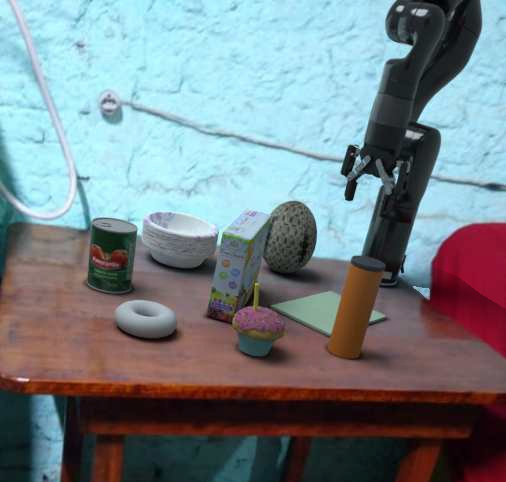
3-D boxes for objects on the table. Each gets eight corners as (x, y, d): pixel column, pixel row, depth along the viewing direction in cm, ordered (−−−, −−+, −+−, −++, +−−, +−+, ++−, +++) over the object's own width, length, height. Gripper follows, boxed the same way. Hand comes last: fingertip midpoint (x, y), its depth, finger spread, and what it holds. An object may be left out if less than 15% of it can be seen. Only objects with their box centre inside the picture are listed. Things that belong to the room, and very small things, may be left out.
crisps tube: (339, 342, 131) (363, 253, 123) (365, 354, 128) (391, 265, 120) (321, 348, 127) (345, 257, 119) (347, 361, 124) (374, 269, 116)
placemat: (329, 293, 153) (330, 290, 153) (386, 318, 146) (387, 316, 146) (270, 308, 139) (270, 305, 138) (329, 337, 132) (330, 333, 132)
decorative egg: (288, 262, 166) (304, 194, 159) (318, 281, 158) (335, 211, 151) (244, 261, 160) (258, 191, 152) (273, 282, 152) (289, 208, 144)
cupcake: (242, 362, 115) (257, 289, 109) (218, 339, 121) (231, 268, 115) (288, 360, 119) (305, 289, 113) (263, 338, 125) (278, 269, 119)
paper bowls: (211, 279, 146) (218, 240, 142) (134, 264, 144) (138, 224, 140) (214, 256, 159) (221, 219, 155) (144, 243, 157) (148, 205, 153)
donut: (160, 348, 114) (185, 327, 122) (163, 328, 112) (188, 308, 121) (102, 329, 116) (130, 310, 124) (103, 309, 114) (132, 291, 122)
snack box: (236, 325, 128) (252, 239, 120) (204, 317, 128) (219, 231, 121) (257, 289, 146) (273, 212, 139) (230, 282, 147) (244, 205, 139)
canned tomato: (126, 279, 137) (133, 219, 131) (135, 295, 131) (142, 233, 125) (83, 276, 134) (88, 215, 128) (89, 292, 128) (95, 229, 122)
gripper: (430, 131, 141) (404, 216, 149) (368, 113, 147) (347, 195, 156) (411, 130, 135) (386, 219, 143) (347, 111, 142) (327, 197, 150)
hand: (365, 206), depth 149 cm, fingers open, 8 cm apart
